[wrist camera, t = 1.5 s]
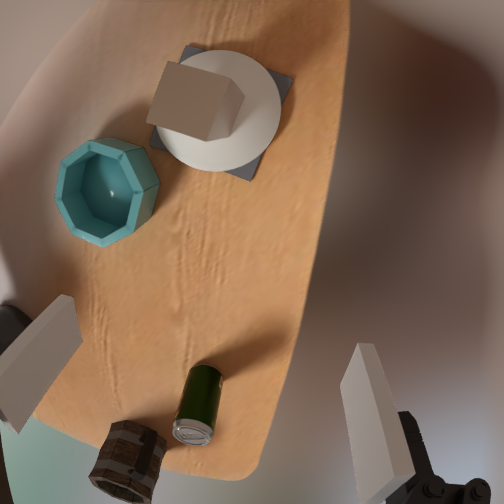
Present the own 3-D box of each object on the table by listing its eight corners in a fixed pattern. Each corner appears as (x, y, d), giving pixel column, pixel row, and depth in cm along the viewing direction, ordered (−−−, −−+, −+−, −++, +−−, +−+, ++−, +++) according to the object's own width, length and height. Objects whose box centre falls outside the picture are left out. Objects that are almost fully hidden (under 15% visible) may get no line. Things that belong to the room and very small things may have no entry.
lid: (143, 148, 31) (83, 162, 20) (183, 40, 26) (139, 2, 15) (253, 187, 32) (243, 220, 21) (299, 76, 27) (315, 46, 16)
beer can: (219, 360, 43) (206, 425, 32) (227, 385, 45) (216, 447, 34) (185, 361, 43) (164, 423, 32) (194, 385, 45) (178, 445, 34)
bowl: (73, 212, 35) (51, 224, 31) (90, 131, 31) (66, 133, 26) (144, 242, 36) (127, 258, 32) (168, 155, 32) (152, 160, 27)
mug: (155, 458, 58) (140, 509, 44) (105, 432, 55) (83, 482, 42) (191, 431, 51) (175, 495, 37) (128, 399, 49) (100, 462, 35)
